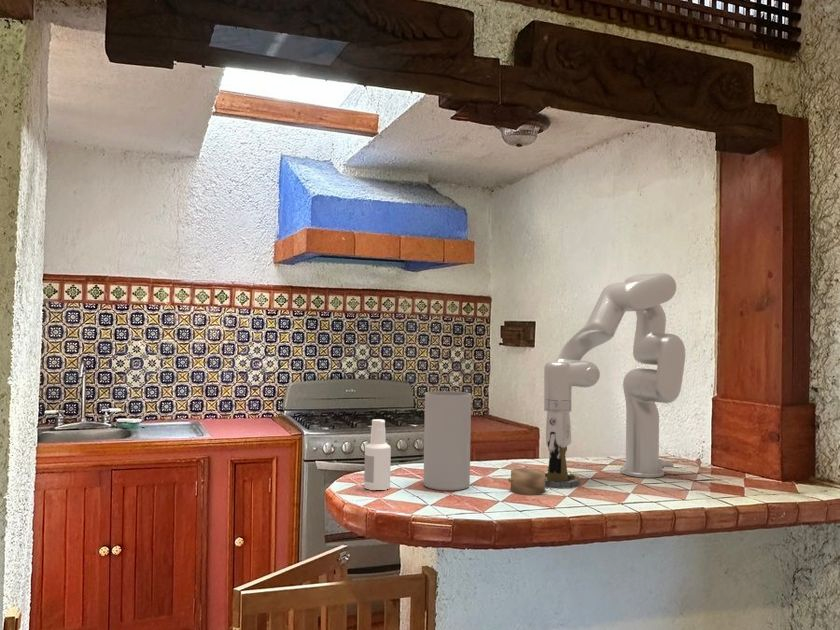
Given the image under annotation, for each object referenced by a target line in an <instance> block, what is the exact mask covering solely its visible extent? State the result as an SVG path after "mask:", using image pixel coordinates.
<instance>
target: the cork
mask: <svg viewBox="0 0 840 630" xmlns="http://www.w3.org/2000/svg"><path fill="white" fill-rule="evenodd" d="M549 444H550V443H549ZM555 447H558V445H555ZM547 448H548V449H547V450H548V451H549V447H548V446H547ZM555 450H557V449H555ZM567 450H568V446H566V447H565V448H561V447H560V459H561V473H560V474H559V473H556V471H554V472H553V473H550V472H549V465H548V467H547V468H548V469H547V472H546V473H547V480H549V481H568V467H567V459H566V457H567V456H566V454H565V453H567ZM557 451H558V450H557ZM565 456H566V457H565Z"/></svg>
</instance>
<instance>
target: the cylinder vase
mask: <svg viewBox="0 0 840 630" xmlns="http://www.w3.org/2000/svg"><path fill="white" fill-rule="evenodd" d="M471 416H472V393H470V392H463V391H447V390H446V391H442V390H441V391H439V390H438V391H426V392H424V424H423V426H424V427H423V428H424V429H423V431H424V434H423V476H422V477H423V483H422V484H423V485H424V486H425V487H426V488H428V489H431V490H436V491H441V492H442V491H446V492H447V491H448V492H449V491H451V492H453V491H454V492H455V491H461V490H466V489H467V488H469V486H470V483H471V482H470V481H471V480H470V479H471V431H472V429H471V424H472V423H471V421H472V417H471Z"/></svg>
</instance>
